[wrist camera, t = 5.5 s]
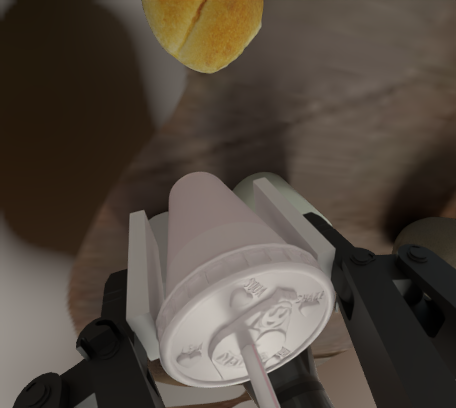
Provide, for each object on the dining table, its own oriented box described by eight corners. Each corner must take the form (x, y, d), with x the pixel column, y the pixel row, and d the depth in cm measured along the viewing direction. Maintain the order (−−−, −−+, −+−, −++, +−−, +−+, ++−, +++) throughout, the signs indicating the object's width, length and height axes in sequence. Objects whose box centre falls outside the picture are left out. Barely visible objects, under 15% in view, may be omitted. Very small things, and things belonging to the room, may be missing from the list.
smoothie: (130, 225, 16) (119, 656, 5) (171, 131, 14) (329, 501, 3) (217, 246, 19) (339, 541, 8) (262, 172, 17) (519, 426, 6)
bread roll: (182, -113, 17) (194, -151, 13) (269, 7, 21) (293, 0, 18) (113, 3, 19) (108, -5, 15) (207, 90, 23) (218, 97, 20)
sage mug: (291, 226, 35) (332, 274, 28) (237, 247, 34) (264, 302, 27) (285, 162, 30) (335, 201, 22) (220, 185, 29) (249, 234, 21)
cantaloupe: (433, 181, 39) (567, 244, 27) (441, 231, 47) (547, 296, 35) (356, 238, 41) (450, 321, 29) (377, 277, 49) (457, 354, 37)
